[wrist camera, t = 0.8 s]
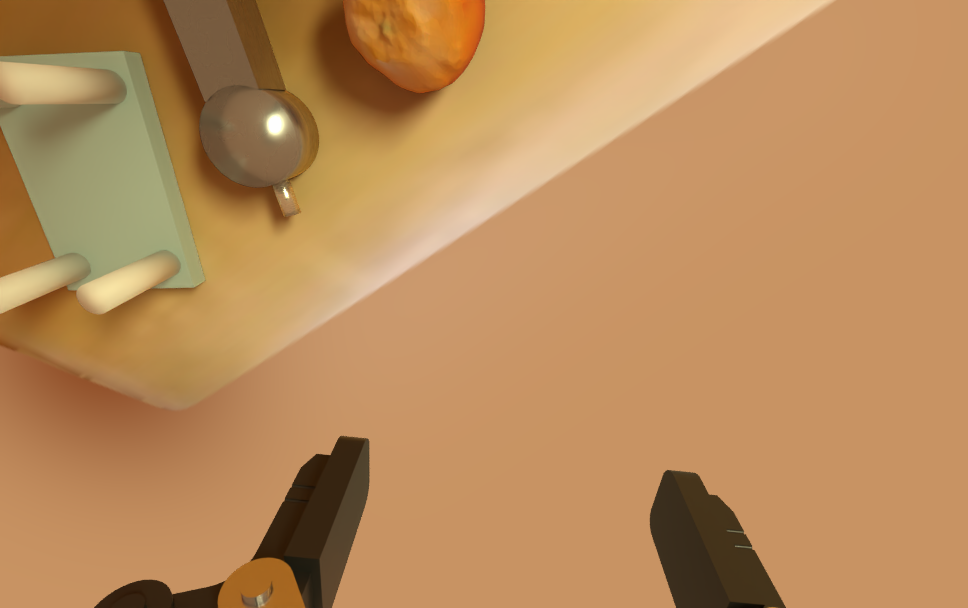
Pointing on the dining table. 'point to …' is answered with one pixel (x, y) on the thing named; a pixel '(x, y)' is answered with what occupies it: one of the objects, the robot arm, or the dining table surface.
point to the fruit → (416, 38)
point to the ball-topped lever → (245, 97)
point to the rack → (94, 179)
